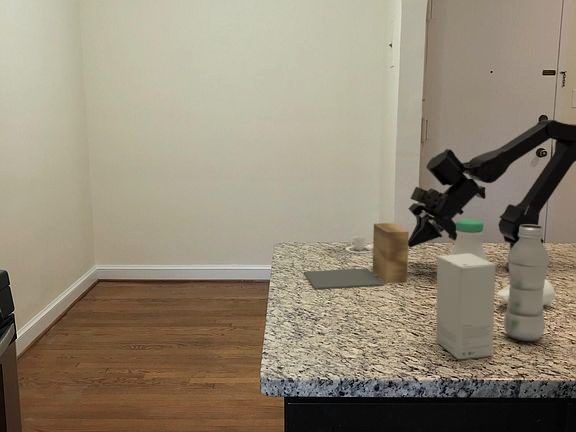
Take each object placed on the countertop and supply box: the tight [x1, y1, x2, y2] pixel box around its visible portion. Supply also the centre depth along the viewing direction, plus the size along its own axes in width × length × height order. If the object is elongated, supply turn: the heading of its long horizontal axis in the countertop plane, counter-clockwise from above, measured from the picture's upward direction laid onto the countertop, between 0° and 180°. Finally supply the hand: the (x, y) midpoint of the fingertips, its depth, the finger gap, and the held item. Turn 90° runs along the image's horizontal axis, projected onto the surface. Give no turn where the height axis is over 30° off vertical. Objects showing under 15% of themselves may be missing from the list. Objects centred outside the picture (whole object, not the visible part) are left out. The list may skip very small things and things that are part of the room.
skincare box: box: [435, 253, 497, 360], centre depth 97 cm, size 8×7×16 cm
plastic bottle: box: [503, 224, 550, 342], centre depth 101 cm, size 6×7×20 cm
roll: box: [496, 278, 556, 306], centre depth 117 cm, size 6×12×6 cm, turn 112°
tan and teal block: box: [372, 222, 410, 284], centre depth 138 cm, size 5×10×12 cm, turn 10°
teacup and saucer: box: [345, 235, 373, 254], centre depth 165 cm, size 9×8×4 cm
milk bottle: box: [448, 218, 489, 261], centre depth 106 cm, size 8×8×20 cm
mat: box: [303, 267, 385, 290], centre depth 137 cm, size 16×13×1 cm
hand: (408, 245), depth 138 cm, fingers closed
